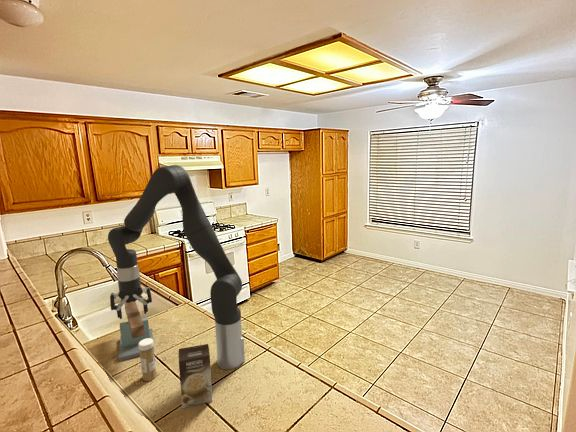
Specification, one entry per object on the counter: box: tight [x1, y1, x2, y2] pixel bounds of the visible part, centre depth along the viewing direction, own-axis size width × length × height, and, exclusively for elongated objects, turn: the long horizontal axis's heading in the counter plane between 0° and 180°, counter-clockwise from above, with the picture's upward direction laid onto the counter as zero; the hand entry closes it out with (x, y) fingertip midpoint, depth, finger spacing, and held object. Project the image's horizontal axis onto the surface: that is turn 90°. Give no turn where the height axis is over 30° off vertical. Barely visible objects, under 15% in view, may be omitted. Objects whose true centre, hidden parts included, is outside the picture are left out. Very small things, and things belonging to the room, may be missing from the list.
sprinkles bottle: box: [138, 338, 157, 382], centre depth 101 cm, size 5×5×14 cm
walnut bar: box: [124, 301, 145, 338], centre depth 118 cm, size 4×26×4 cm, turn 34°
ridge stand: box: [117, 316, 155, 362], centre depth 119 cm, size 12×16×10 cm
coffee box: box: [178, 343, 213, 409], centre depth 92 cm, size 9×6×16 cm
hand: (133, 315), depth 118 cm, fingers open, 8 cm apart
